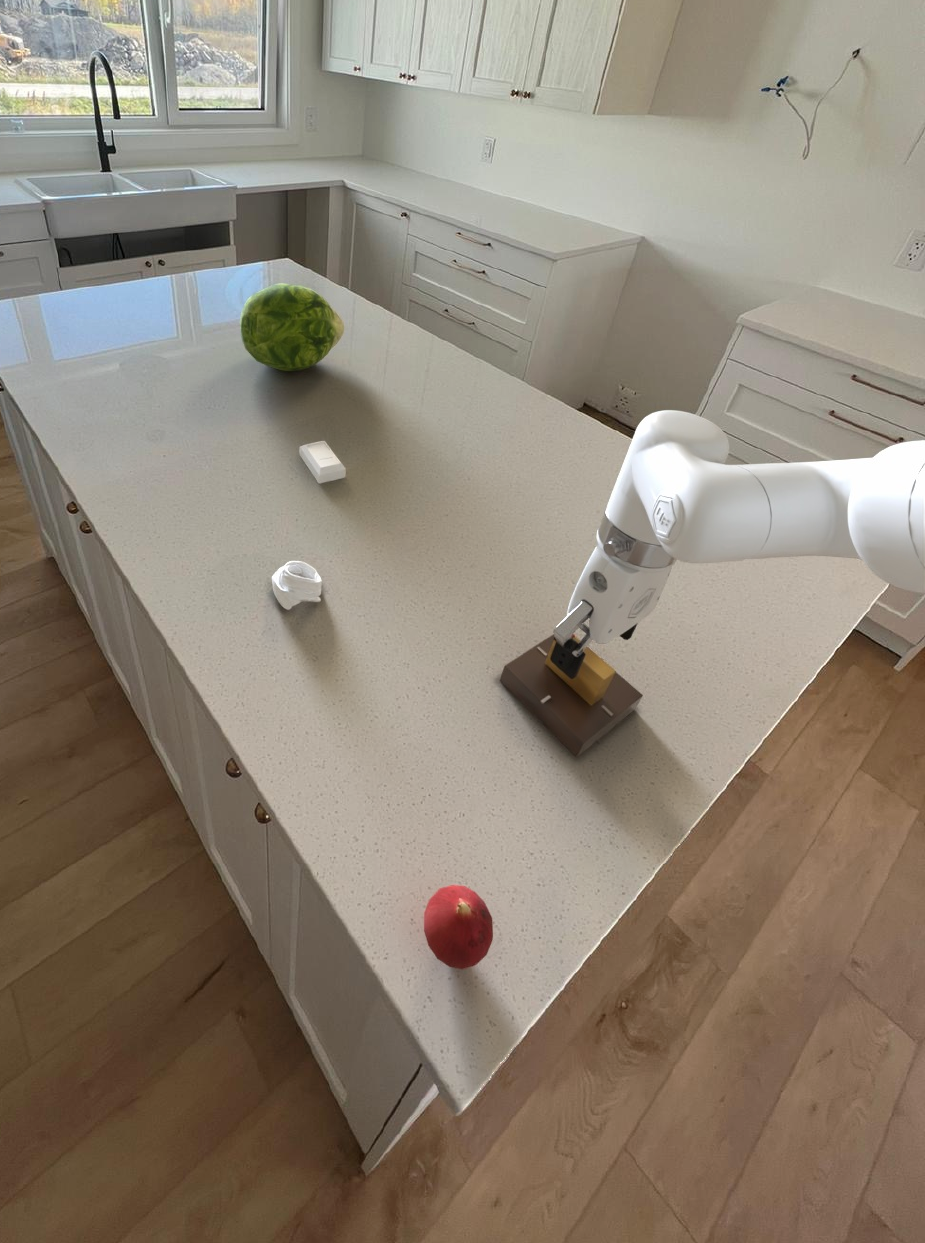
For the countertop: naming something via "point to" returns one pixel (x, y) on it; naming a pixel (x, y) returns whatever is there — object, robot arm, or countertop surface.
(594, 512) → the countertop surface
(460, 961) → the onion
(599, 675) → the tap handle
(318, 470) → the soap bar
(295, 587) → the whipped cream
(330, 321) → the lettuce
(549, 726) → the tap deck
